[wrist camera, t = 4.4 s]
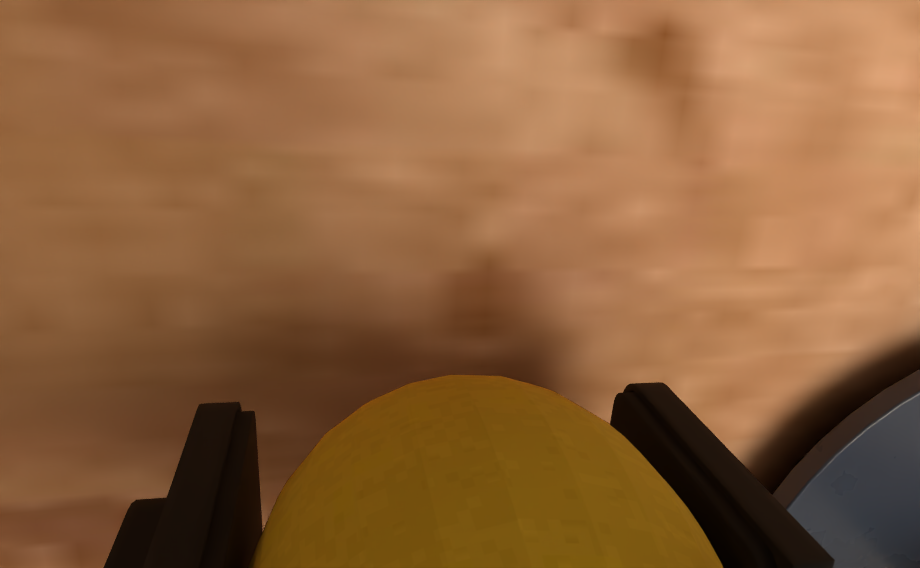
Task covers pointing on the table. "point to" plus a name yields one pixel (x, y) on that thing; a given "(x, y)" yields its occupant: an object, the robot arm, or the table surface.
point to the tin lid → (864, 483)
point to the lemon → (478, 488)
